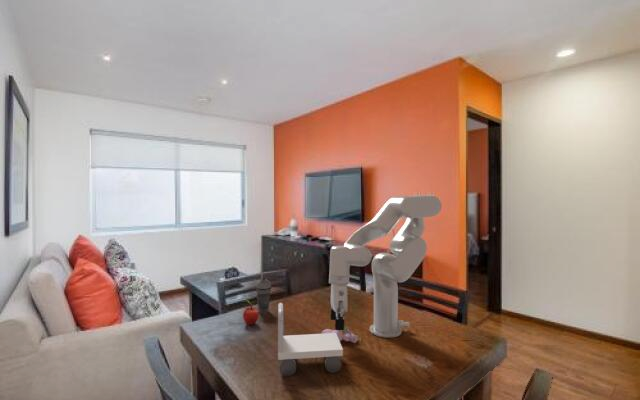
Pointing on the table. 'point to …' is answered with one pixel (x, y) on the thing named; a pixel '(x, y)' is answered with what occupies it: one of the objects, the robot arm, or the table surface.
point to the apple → (250, 315)
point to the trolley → (307, 348)
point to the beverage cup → (263, 294)
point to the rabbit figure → (340, 335)
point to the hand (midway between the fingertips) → (336, 324)
